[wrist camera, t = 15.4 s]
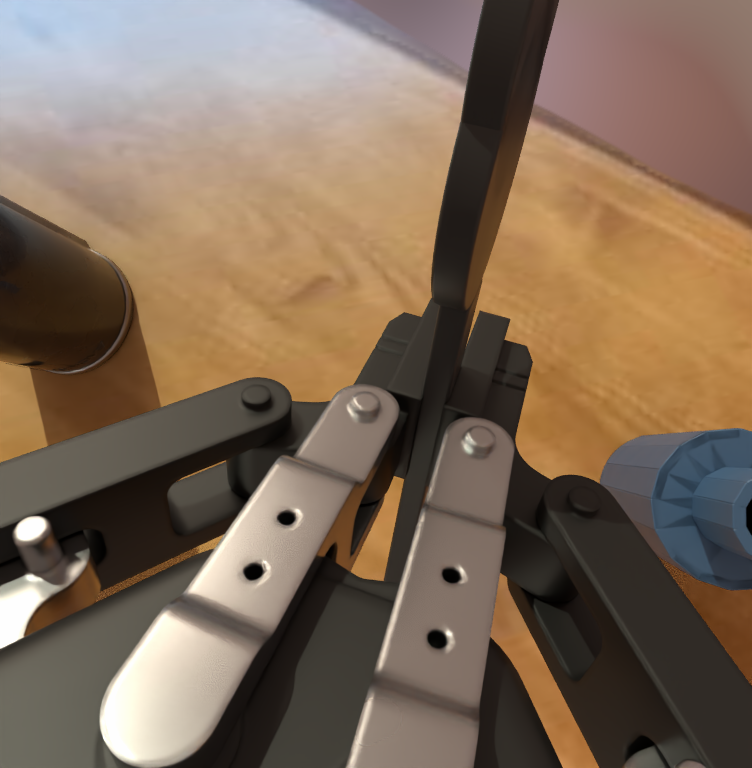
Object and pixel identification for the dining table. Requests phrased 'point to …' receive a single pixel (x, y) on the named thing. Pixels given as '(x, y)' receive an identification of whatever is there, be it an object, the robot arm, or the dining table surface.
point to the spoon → (473, 216)
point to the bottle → (690, 500)
